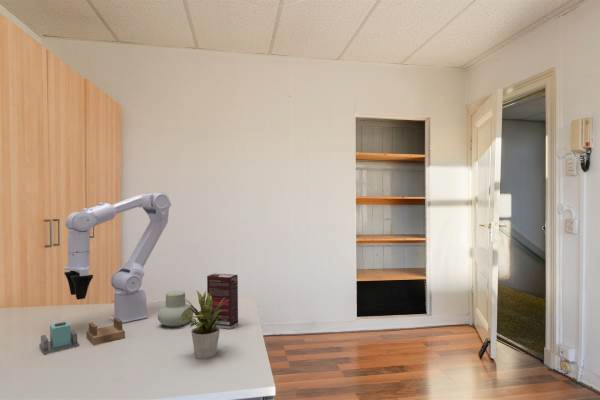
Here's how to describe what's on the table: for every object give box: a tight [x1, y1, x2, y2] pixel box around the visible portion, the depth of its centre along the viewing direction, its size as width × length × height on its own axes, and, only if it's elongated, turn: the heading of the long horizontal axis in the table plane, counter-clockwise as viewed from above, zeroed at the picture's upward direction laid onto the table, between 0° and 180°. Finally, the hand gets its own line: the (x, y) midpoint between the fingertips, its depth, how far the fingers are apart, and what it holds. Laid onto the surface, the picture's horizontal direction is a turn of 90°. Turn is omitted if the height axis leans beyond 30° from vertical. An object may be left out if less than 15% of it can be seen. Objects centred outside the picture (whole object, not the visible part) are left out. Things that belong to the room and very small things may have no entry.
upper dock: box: [86, 317, 126, 346], centre depth 107 cm, size 8×8×4 cm
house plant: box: [176, 290, 228, 360], centre depth 95 cm, size 14×14×16 cm
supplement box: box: [206, 272, 239, 330], centre depth 117 cm, size 9×5×16 cm, turn 71°
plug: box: [49, 321, 71, 348], centre depth 101 cm, size 4×4×6 cm
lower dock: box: [38, 328, 80, 355], centre depth 101 cm, size 8×8×3 cm
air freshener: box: [157, 290, 194, 327], centre depth 119 cm, size 11×8×10 cm
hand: (77, 296), depth 113 cm, fingers open, 7 cm apart
